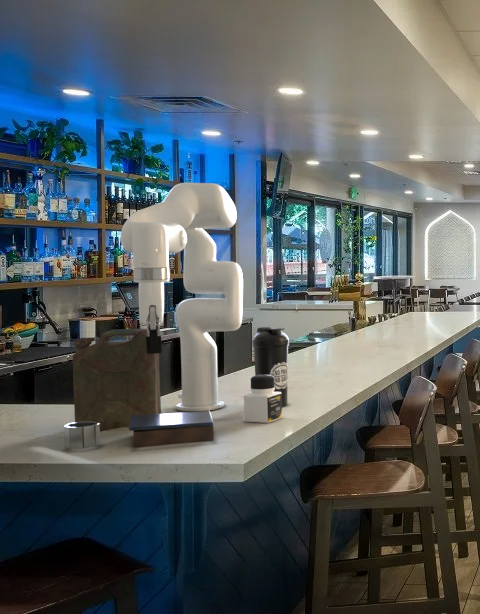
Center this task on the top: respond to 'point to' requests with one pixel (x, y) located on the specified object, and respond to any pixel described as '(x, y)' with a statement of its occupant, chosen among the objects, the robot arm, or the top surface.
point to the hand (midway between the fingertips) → (154, 353)
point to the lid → (170, 420)
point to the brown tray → (172, 436)
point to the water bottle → (272, 357)
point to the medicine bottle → (262, 400)
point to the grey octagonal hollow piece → (82, 434)
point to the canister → (115, 379)
